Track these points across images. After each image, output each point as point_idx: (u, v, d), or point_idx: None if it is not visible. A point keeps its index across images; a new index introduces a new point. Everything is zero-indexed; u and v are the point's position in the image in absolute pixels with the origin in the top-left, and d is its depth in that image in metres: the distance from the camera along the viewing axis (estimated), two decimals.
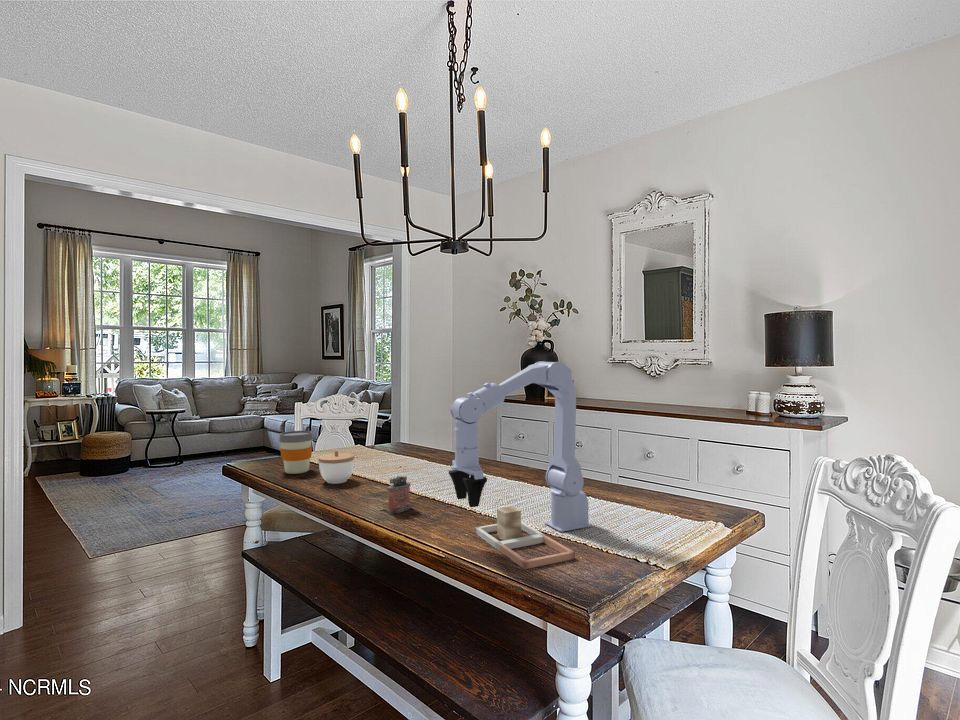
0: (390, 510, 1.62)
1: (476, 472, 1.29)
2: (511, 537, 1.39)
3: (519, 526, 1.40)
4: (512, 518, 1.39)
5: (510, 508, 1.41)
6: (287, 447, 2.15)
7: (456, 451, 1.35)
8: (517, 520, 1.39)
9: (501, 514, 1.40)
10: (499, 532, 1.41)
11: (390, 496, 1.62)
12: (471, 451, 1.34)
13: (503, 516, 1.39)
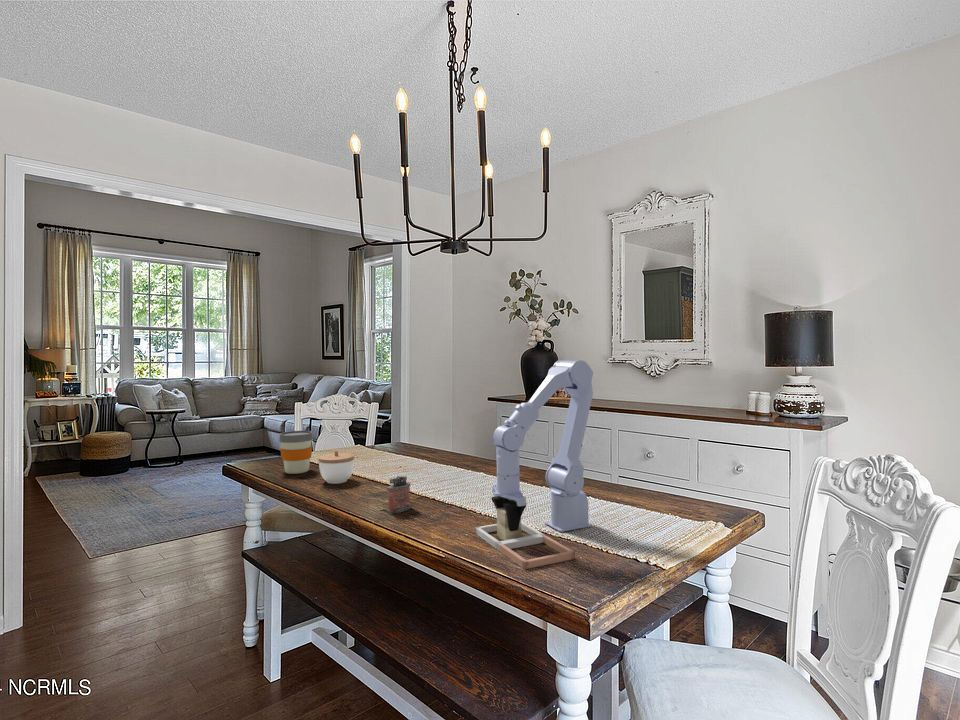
0: (390, 510, 1.62)
1: (519, 499, 1.34)
2: (511, 537, 1.39)
3: (519, 526, 1.40)
4: None
5: None
6: (287, 447, 2.15)
7: (498, 478, 1.39)
8: None
9: (501, 514, 1.40)
10: (499, 532, 1.41)
11: (390, 496, 1.62)
12: (513, 478, 1.38)
13: (503, 516, 1.39)
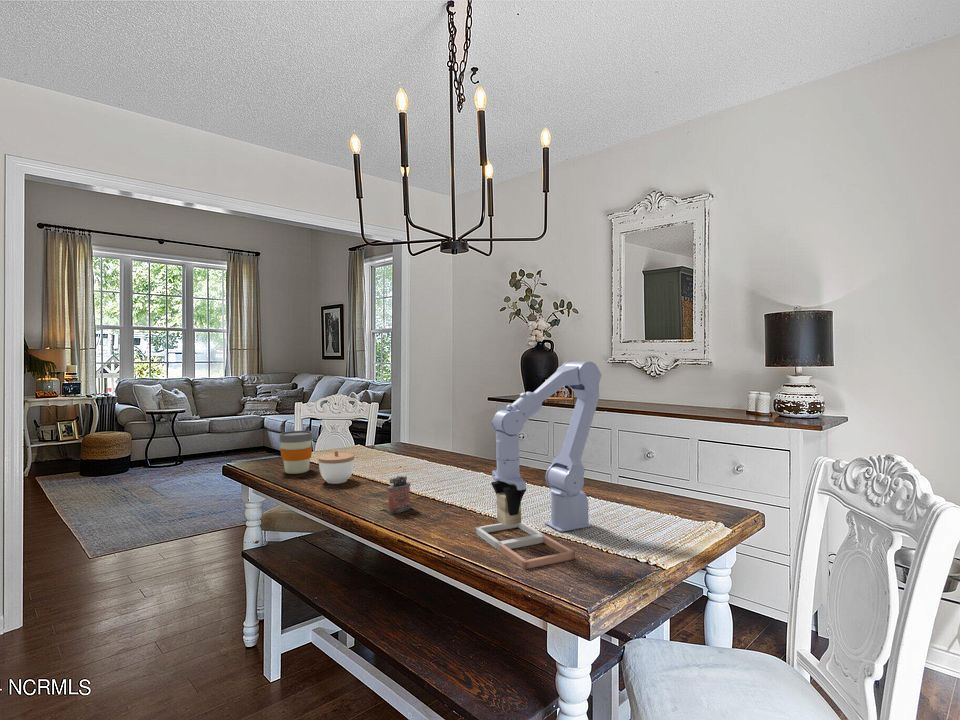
0: (390, 510, 1.62)
1: (519, 483, 1.34)
2: (511, 521, 1.39)
3: (519, 511, 1.39)
4: None
5: None
6: (287, 447, 2.15)
7: (498, 462, 1.39)
8: None
9: (501, 499, 1.39)
10: (499, 517, 1.41)
11: (390, 496, 1.62)
12: (513, 462, 1.38)
13: (503, 500, 1.38)
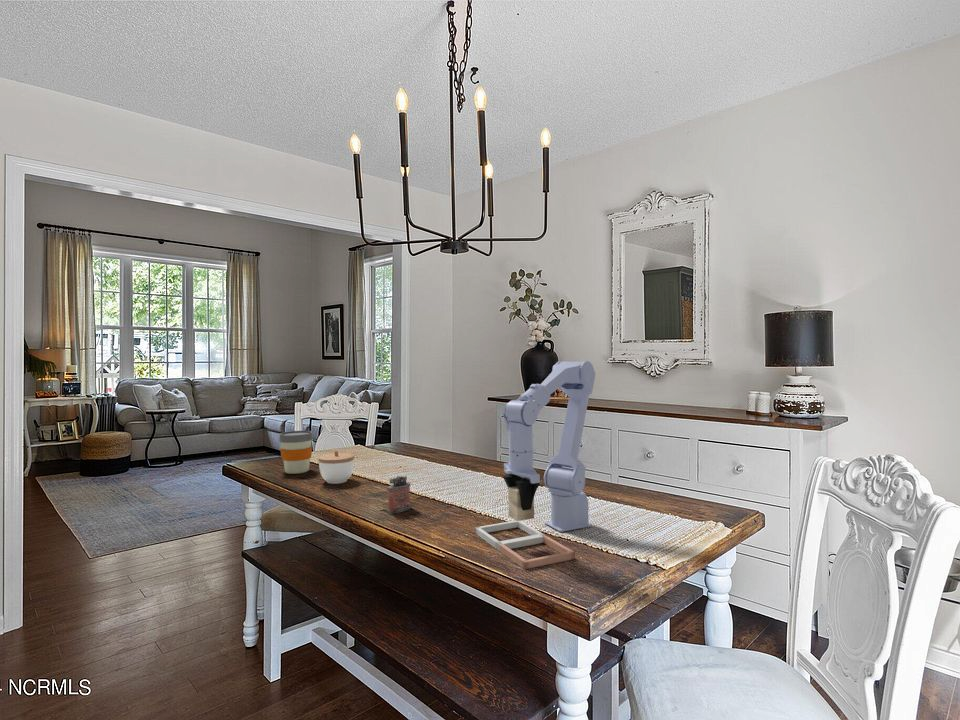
0: (390, 510, 1.62)
1: (533, 476, 1.27)
2: (523, 517, 1.32)
3: (532, 505, 1.33)
4: None
5: None
6: (287, 447, 2.15)
7: (510, 454, 1.33)
8: None
9: (513, 493, 1.33)
10: (511, 512, 1.34)
11: (390, 496, 1.62)
12: (526, 455, 1.31)
13: (515, 495, 1.32)
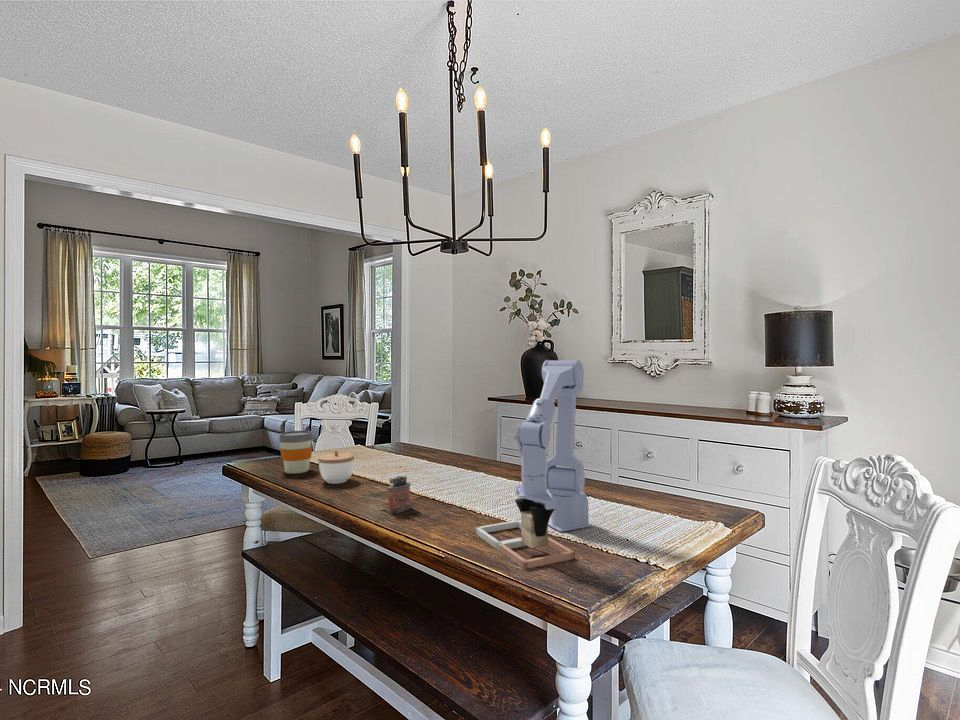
0: (390, 510, 1.62)
1: (548, 502, 1.22)
2: (537, 543, 1.27)
3: (546, 531, 1.28)
4: None
5: None
6: (287, 447, 2.15)
7: (524, 478, 1.27)
8: None
9: (526, 518, 1.28)
10: (524, 538, 1.29)
11: (390, 496, 1.62)
12: (540, 479, 1.26)
13: (529, 520, 1.27)
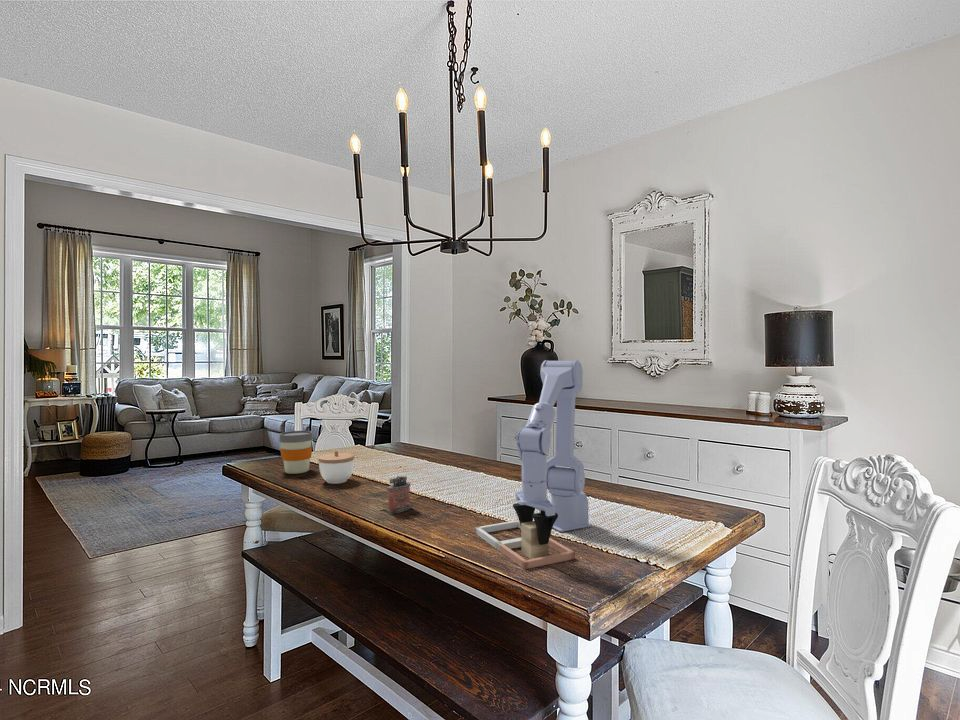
0: (390, 510, 1.62)
1: (548, 508, 1.22)
2: (537, 555, 1.27)
3: None
4: None
5: None
6: (287, 447, 2.15)
7: (524, 485, 1.27)
8: None
9: (526, 529, 1.28)
10: (524, 549, 1.29)
11: (390, 496, 1.62)
12: (540, 485, 1.26)
13: (529, 532, 1.27)
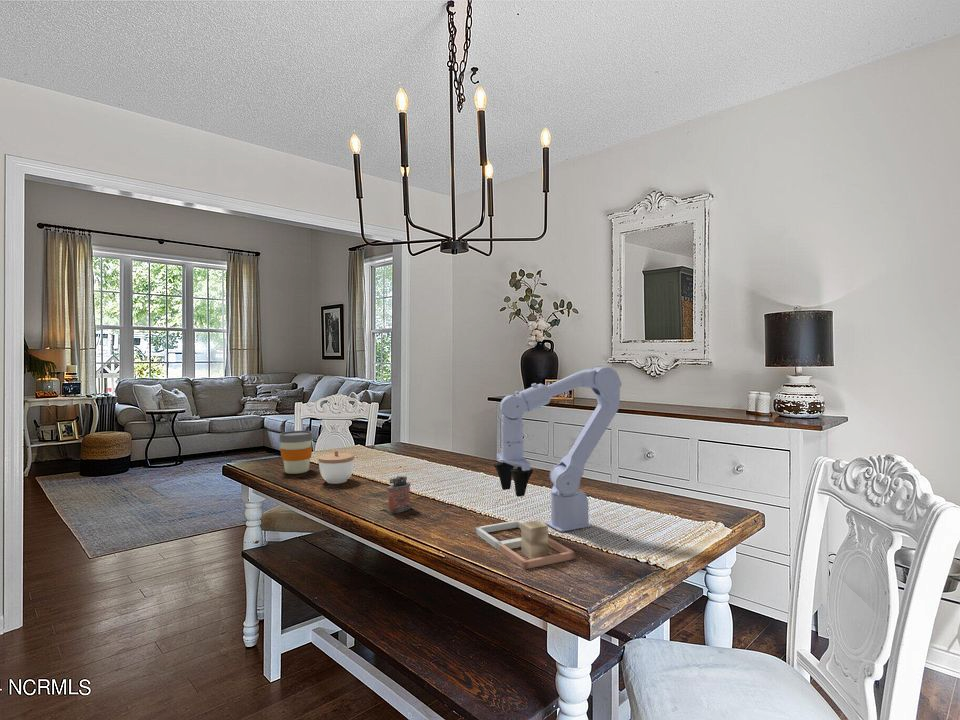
0: (390, 510, 1.62)
1: (524, 464, 1.40)
2: (537, 555, 1.27)
3: (546, 543, 1.28)
4: (539, 534, 1.27)
5: (536, 523, 1.30)
6: (287, 447, 2.15)
7: (503, 445, 1.46)
8: (544, 536, 1.27)
9: (526, 530, 1.28)
10: (524, 549, 1.29)
11: (390, 496, 1.62)
12: (518, 445, 1.44)
13: (529, 532, 1.27)
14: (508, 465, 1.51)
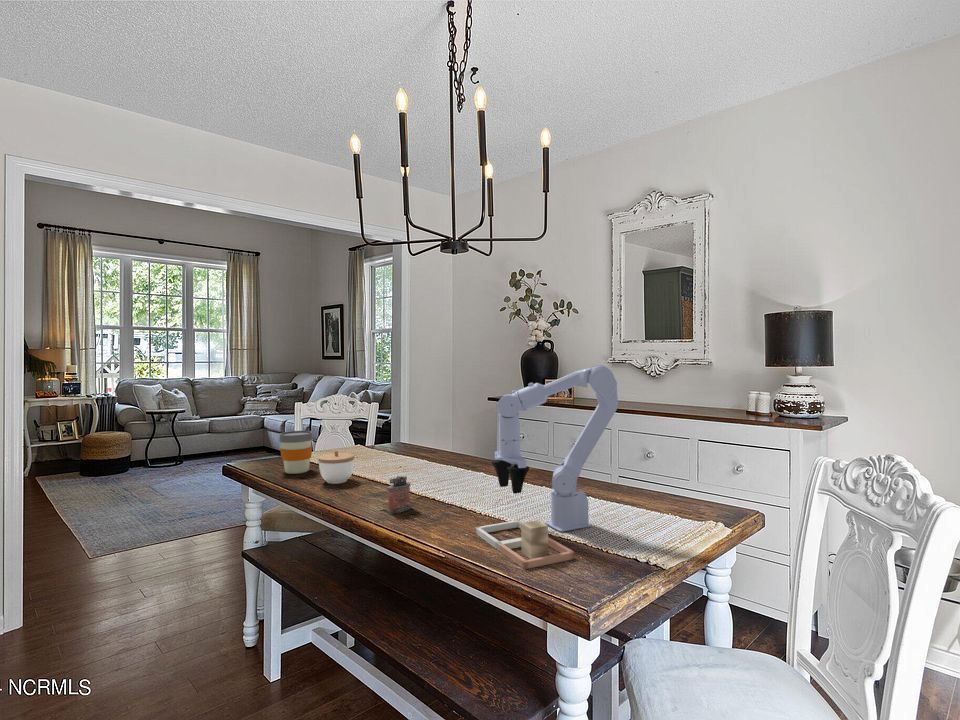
0: (390, 510, 1.62)
1: (520, 461, 1.43)
2: (537, 555, 1.27)
3: (546, 543, 1.28)
4: (539, 534, 1.27)
5: (536, 523, 1.30)
6: (287, 447, 2.15)
7: (500, 443, 1.49)
8: (544, 536, 1.27)
9: (526, 529, 1.28)
10: (524, 549, 1.29)
11: (390, 496, 1.62)
12: (514, 443, 1.48)
13: (529, 532, 1.27)
14: (506, 463, 1.54)
